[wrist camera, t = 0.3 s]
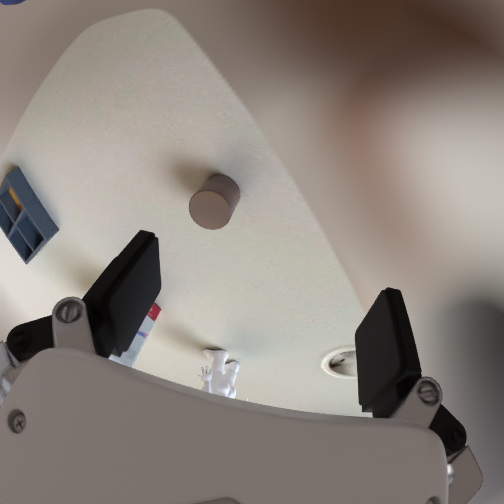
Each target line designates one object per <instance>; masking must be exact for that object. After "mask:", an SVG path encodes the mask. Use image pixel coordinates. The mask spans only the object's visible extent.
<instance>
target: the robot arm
mask: <svg viewBox="0 0 504 504" xmlns="http://www.w3.org/2000/svg"><path fill="white" fill-rule="evenodd" d="M160 290H161V275H160V260H159V243H158V238H157V237H155V234H154V233H152V232H148V231H144V230H140V231H139V232H138V233H137V234H136V235H135V237H134V238H133V239H132V240H131V241H130V242H129V244H128V245H127V246H126V247H125V248H124V249H123V251H122V252H121V253H120V254H119V255H118V256H117V257H115V258H114V259H113V260H112V262H111V263H110V264H109V265H108V266H107V268H106V269H105V270H104V271H103V273H102V274H101V275H100V276H99V278H98V279H97V280H96V282H95V283H94V284H93V285H92V287H91V288H90V289H89V291H88V292H87V293H86V294H85V296H84V297H83V298H82V299H80V298H78V297H67V298H64V299H62V300H60V301H59V302H58V303H57V304H56V305H55V306H54V308H53V311H52V315H50V316H47V317H43V318H40V319H37V320H34V321H30V322H27V323H24V324H20V325H18V326H16V327H14V328H13V329H12V330H11V331H10V333H9V334H8V337H7V342H5V343H4V342H3V341H1V342H0V504H467V503H468V501H470V499H471V498H472V497H473V496H474V495H475V494H476V493H477V491H478V490H479V489H480V487H481V486H482V482H483V475H482V472H481V470H480V467H479V466H478V464H477V461H476V459H475V457H474V455H473V453H472V451H471V449H470V448H469V446H465V443H466V438H467V436H466V431H465V428H464V427H463V425H462V424H461V423H460V422H459V421H458V420H457V419H456V418H455V417H454V416H453V415H452V414H451V413H450V412H449V411H448V410H447V409H446V408H445V407H444V406H443V405H442V404H441V401H442V390H441V387H440V385H439V384H438V383H437V382H436V380H434V379H433V378H431V377H422V375H421V372H422V371H421V367H420V362H419V357H418V353H417V349H416V344H415V340H414V336H413V332H412V328H411V325H410V321H409V317H408V314H407V310H406V307H405V303H404V300H403V297H402V294H401V291H400V290H398V289H393V288H389V287H388V288H386V289H385V290H382V291H381V292H380V294H379V295H378V297H377V299H376V300H375V302H374V304H373V305H372V307H371V308H370V310H369V312H368V313H367V315H366V316H365V318H364V319H363V321H362V322H361V324H360V325H359V327H358V328H357V330H356V333H355V346H356V359H357V374H358V396H359V404H360V405H362V412H372V413H373V418H368V417H354V416H341V415H330V414H320V413H312V412H304V411H297V410H290V409H284V408H278V407H272V406H267V405H261V404H256V403H251V402H247V401H242V400H237V399H233V398H229V397H225V396H221V395H217V394H213V393H209V392H205V391H201V390H198V389H194V388H191V387H187V386H184V385H181V384H177V383H174V382H171V381H168V380H165V379H162V378H159V377H156V376H153V375H150V374H148V373H145V372H142V371H139V370H136V369H133V368H131V367H128V366H125V365H123V364H120V363H117V362H115V361H112V360H110V359H108V358H109V357H110V355H111V354H112V355H115V356H117V357H121V355H122V353H123V352H127V351H128V349H129V347H130V345H131V343H132V341H133V340H134V338H135V336H136V334H137V332H138V330H139V328H140V327H141V325H142V323H143V321H144V319H145V317H146V316H147V314H148V312H149V310H150V308H151V307H152V305H153V303H154V301H155V300H156V298H157V296H158V294H159V292H160Z"/></svg>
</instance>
